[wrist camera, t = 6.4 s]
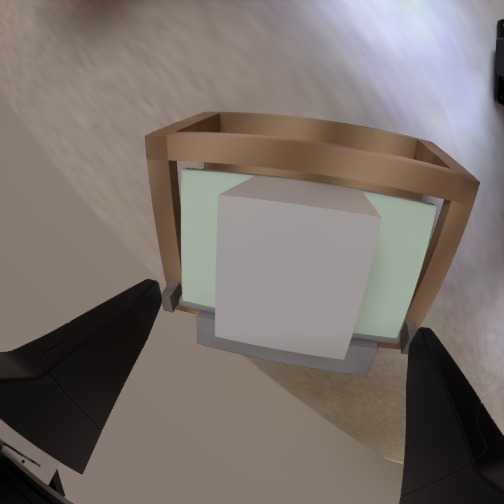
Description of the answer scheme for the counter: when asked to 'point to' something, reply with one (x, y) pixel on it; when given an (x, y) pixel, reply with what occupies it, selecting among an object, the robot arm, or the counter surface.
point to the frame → (312, 169)
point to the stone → (292, 264)
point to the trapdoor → (377, 289)
